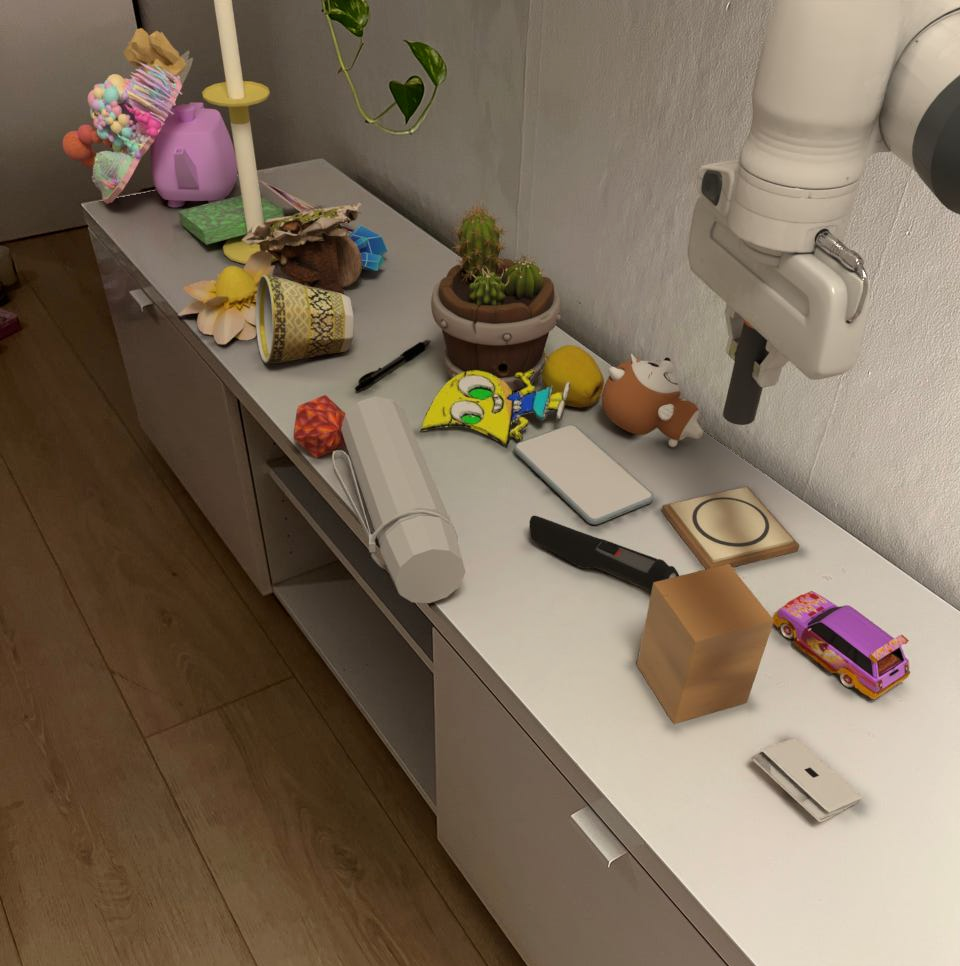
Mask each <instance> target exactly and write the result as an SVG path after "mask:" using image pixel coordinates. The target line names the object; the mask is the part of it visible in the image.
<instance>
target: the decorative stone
mask: <svg viewBox="0 0 960 966" xmlns="http://www.w3.org/2000/svg"><path fill="white" fill-rule="evenodd" d="M345 414H346V412H345V411H344V410H343V409H341V408H340V407H339V405H337V404H336V403H335V401H333V400H332V399H331V398H330V397H329V396H328V395H326V394H324V395H321V396H318V397H316V398H314V399H311V400H308V401H305V402H304V403H301V404H299V405H298V406H297V409H296V413H295V419H294V427H293V428H294V429H293V439H294V440H295V441H296V442H297V443H298V444H299V445H300V446H302V448H304V449H305V450H306V451H307V452H308V453H309V454H311V455H312V456H313V457H314V458H315V459H318V458H320V457H323V456H325V455H327V454H329V453H333V451H337V450H340V449H341V448H343V447H344V445H345V444H346V443H345V440H344V437H343V434H342V431H341V427H342V424H343V420H344V416H345Z"/></svg>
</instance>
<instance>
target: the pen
mask: <svg viewBox="0 0 960 966" xmlns="http://www.w3.org/2000/svg"><path fill="white" fill-rule="evenodd" d="M430 343H431V340H430V339H425V340H423V341H420V342H418V343H416V344H415V345H413V346H411V347H410V348H409V349H406V350H405V351H403V352H402V353H401V354H400V355H399V356H398V357H395V358H394V359H393V360H392V361H390V362H389V363H387V364H385V365H383V366H382V367H378V368H377V369H376V370H373V371H370V372H368V373H365V374H364V375H362V376H361V377H360V378H359V379H358V384H357V385H356V386H355V387H354V391H355V392H359V391H362V390H365V389H367V388H369V387H370V386H372V385H373V384H374V383H376V382H377V381H379V380H380V379H382V378H383V377H384V376H387V375H388V374H389V373H391V372H392V371H393V370H395V369H397V368H399V366H401V365H402V364H405V363H407V362H408V361H410V360H412V359H413V358H415V357H416V356H417V355H419V354H420V353H421V352H423V351H425V350H426V348H427V347H429V345H430Z"/></svg>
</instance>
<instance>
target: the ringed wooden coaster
mask: <svg viewBox="0 0 960 966" xmlns="http://www.w3.org/2000/svg"><path fill="white" fill-rule="evenodd" d="M661 513H662V514H663V515H664V517H665V518H666V520H667V521H668V522H669V523H670V525H671V526H672V527H673V528H674V530H675V531H676V532H677V534H678V535H679V536H680V538H681V539H682V540H683V541H684V543H685V544H686V545H687V547H688V548H689V549H690V550H691V552H692V554H694V556H695V557H696V559H697V560H698V561H699V562H700V564H701V565H702V566H703V567H704V570H706V569H710V568H714V567H718V566H722V565H726V564H730V566H731V567H732V568H736V567H740V566H744V565H747V564H753V563H757V562H760V561H763V560H764V561H765V560H768V559H773V558H776V557H780V556H785V555H788V554H792V553H796V552H798V551H799V548H800V544H799V542H798V541H796V540H795V539H794V537H793V536H792V535H791V534H790V533H789V532H788V530H787V529H786V528H785V527H784V526H783V525H782V524H781V522H780V521H779V520H778V519H777V518H776V516H774V515H773V514H772V512H771V511H770V510H769V509H768V508H767V507H766V506H765V504H764V503H763V502H762V501H761V500H760V499H759V498H758V497H757V496H756V495H755V493H754V492H753V491H752V490H751V489H750V487H748V486H747V485H746V486H742V487H738V488H734V489H733V488H732V489H729V490H725V491H721V492H716V493H712V494H707V495H703V496H698V497H694V498H690V499H684V500H681V501H676V502H671V503H667V504H663V505H661Z"/></svg>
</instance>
